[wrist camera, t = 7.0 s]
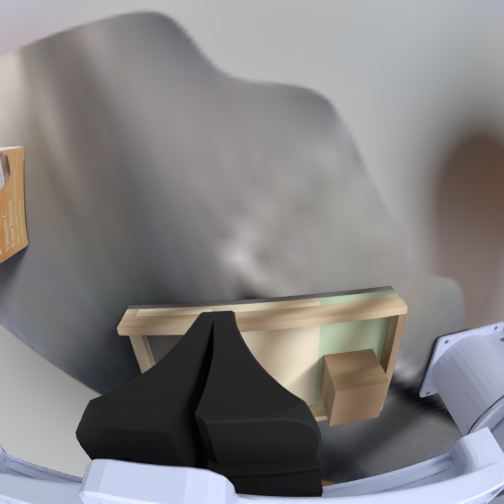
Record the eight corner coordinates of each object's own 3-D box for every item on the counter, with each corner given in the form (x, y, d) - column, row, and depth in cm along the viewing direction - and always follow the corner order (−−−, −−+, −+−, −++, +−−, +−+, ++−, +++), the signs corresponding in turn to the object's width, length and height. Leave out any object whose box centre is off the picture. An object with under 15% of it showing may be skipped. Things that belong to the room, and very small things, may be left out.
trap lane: (390, 286, 23) (407, 306, 20) (371, 386, 27) (381, 409, 24) (129, 305, 23) (116, 328, 20) (161, 402, 27) (155, 427, 24)
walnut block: (372, 348, 23) (389, 382, 19) (364, 383, 24) (378, 417, 21) (323, 355, 23) (335, 391, 19) (319, 390, 24) (329, 425, 21)
